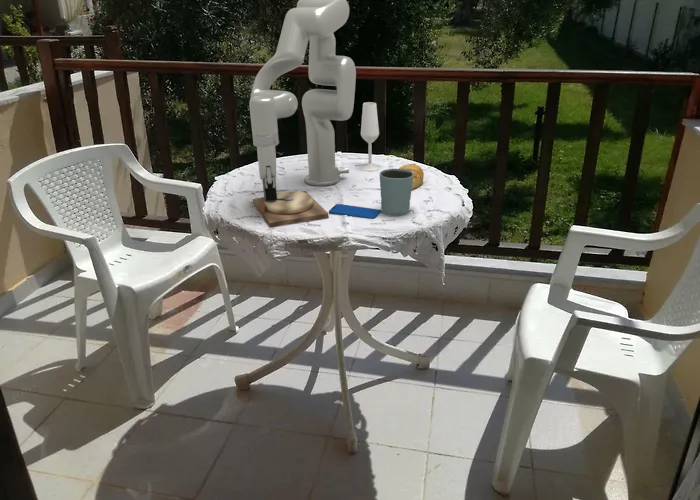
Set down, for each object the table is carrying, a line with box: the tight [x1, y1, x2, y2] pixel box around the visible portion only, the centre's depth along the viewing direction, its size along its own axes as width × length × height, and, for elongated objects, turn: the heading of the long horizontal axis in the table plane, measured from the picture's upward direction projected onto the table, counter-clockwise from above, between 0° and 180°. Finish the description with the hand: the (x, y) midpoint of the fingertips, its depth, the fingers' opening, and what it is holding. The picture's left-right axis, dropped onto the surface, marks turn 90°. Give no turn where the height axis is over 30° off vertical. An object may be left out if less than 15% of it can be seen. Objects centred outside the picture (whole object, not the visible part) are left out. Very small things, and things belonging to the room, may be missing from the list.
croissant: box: [398, 163, 425, 190], centre depth 204 cm, size 21×10×8 cm, turn 164°
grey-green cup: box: [378, 168, 414, 217], centre depth 179 cm, size 10×10×12 cm
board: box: [251, 190, 330, 228], centre depth 183 cm, size 18×22×4 cm
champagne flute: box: [360, 101, 380, 172], centre depth 216 cm, size 7×7×24 cm
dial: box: [262, 176, 314, 214], centre depth 181 cm, size 15×15×9 cm
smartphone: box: [328, 203, 382, 220], centre depth 181 cm, size 7×1×15 cm
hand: (271, 196), depth 182 cm, fingers closed on dial, 4 cm apart
